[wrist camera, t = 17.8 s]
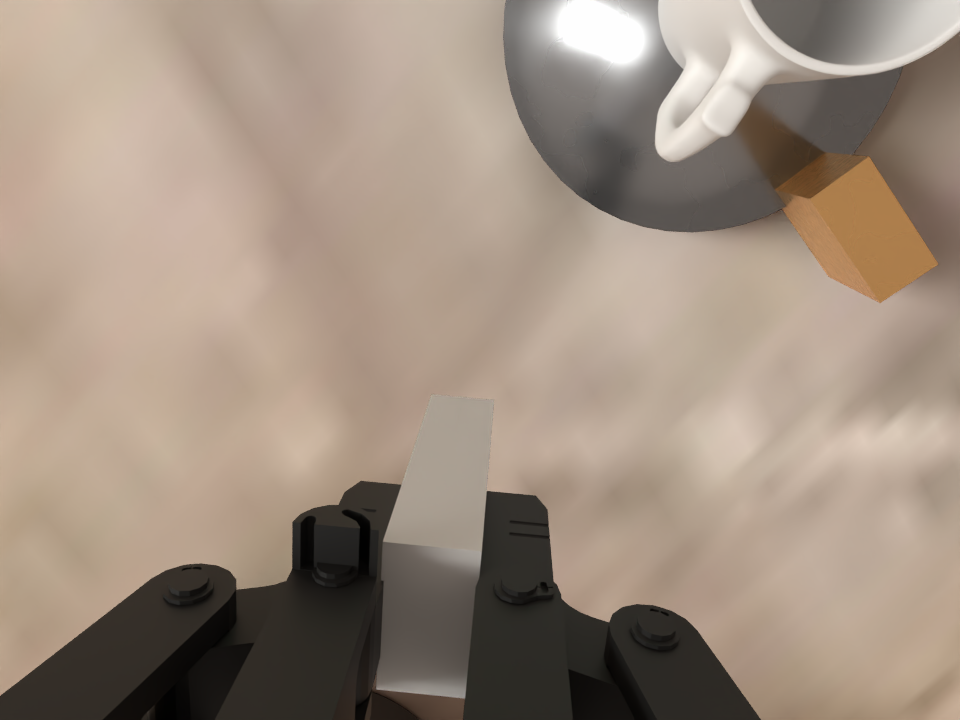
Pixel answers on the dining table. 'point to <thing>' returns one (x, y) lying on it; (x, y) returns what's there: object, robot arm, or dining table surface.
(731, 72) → the mug
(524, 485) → the dining table surface
